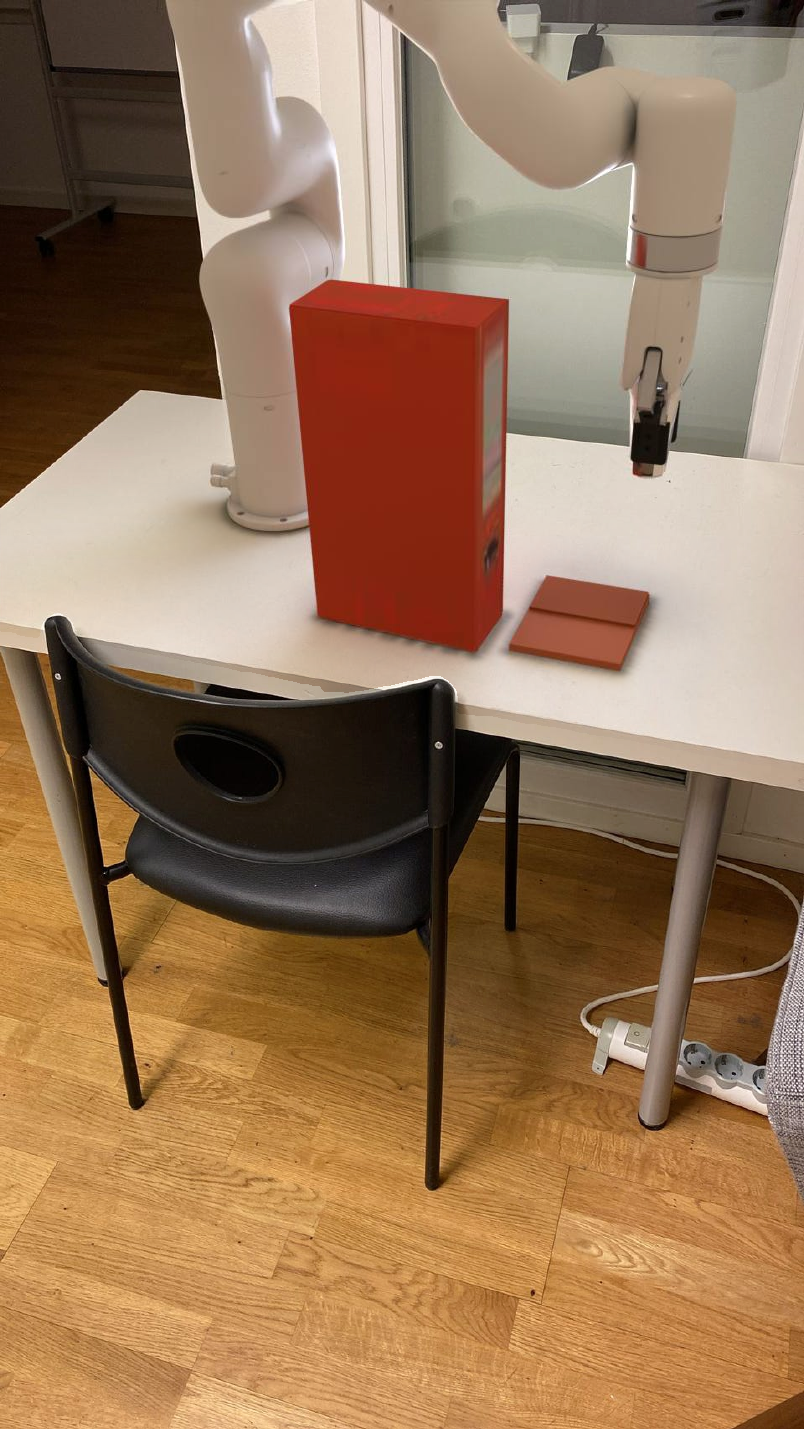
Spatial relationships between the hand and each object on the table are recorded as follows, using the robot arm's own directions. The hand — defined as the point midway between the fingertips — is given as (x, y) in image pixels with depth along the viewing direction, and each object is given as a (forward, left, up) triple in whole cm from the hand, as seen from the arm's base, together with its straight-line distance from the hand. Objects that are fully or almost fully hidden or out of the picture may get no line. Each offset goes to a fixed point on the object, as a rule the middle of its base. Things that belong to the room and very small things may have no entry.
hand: (653, 449), depth 109 cm
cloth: (-5, -5, -18) cm, 19 cm away
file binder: (-22, -8, -18) cm, 29 cm away
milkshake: (0, 0, -3) cm, 3 cm away
